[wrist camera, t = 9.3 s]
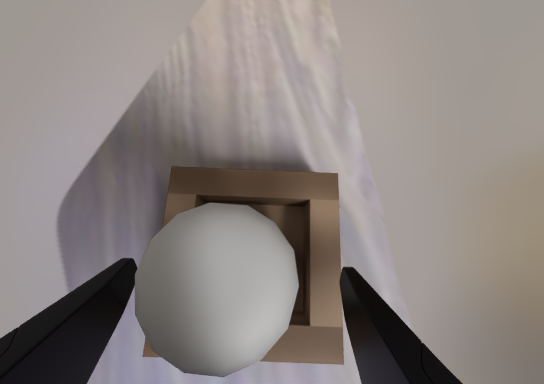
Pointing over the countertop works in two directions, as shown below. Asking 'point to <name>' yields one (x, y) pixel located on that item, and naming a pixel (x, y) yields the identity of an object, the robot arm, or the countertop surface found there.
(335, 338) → the socket block
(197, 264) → the salt shaker
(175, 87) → the countertop surface
